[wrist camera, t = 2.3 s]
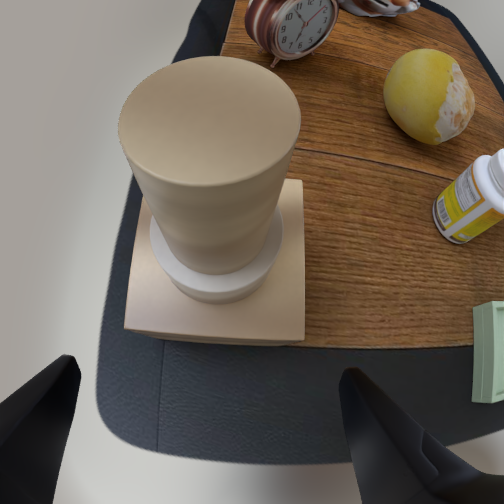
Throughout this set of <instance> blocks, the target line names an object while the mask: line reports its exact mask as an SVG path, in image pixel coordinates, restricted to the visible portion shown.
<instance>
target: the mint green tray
mask: <svg viewBox="0 0 504 504" xmlns="http://www.w3.org/2000/svg"><path fill="white" fill-rule="evenodd" d="M473 326H474V367H473V388H472V402H482V403H494V402H497V401H501V400H504V301H491V302H488V303H485V304H482V305H479V306H476V307H473Z"/></svg>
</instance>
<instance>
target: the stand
mask: <svg viewBox="0 0 504 504" xmlns="http://www.w3.org/2000/svg"><path fill="white" fill-rule="evenodd" d="M277 204H278V206H279V208H280V211H281V214H282V218H283V224H284V235H283V242H282V246H281V249H280V252H279V254H278V256H277V258H276V260H275V263H274V265H273V267H272V269H271V271H270V273H269V275H268V277H267V278H266V280H265V281H264V283H263V284H262V285H261V286H260V287H259V288H258V289H257V290H256V291H255V292H253V293H252V294H251V295H249V296H247V297H246V298H244V299H242V300H239V301H236V302H233V303H228V304H207V303H203V302H199V301H196V300H194V299H192V298H190V297H188V296H187V295H185V294H184V293H182V292H181V291H180V290H179V289H178V288H177V287H176V286H175V285H174V284H173V283H172V281H171V280H170V278H169V277H168V276H167V274H166V273H165V271H164V270H163V269H162V267H161V266H160V264H159V263H158V261H157V259H156V257H155V255H154V253H153V250H152V246H151V241H150V223H151V218H152V212H151V210H150V208H149V206H148V204H147V202H146V199H145V197H144V195H143V200H142V205H141V210H140V215H139V220H138V226H137V232H136V238H135V244H134V250H133V256H132V263H131V270H130V278H129V285H128V293H127V302H126V311H125V321H124V329H126V330H129V331H133V332H136V333H140V334H143V335H146V336H150V337H153V338H157V339H165V340H175V341H187V342H199V343H214V344H231V345H253V346H282V345H287V344H291V343H295V342H299V341H303V340H304V339H305V251H304V211H303V184H302V180H295V179H285V180H284V184H283V187H282V190H281V193H280V196H279V200H278V203H277Z"/></svg>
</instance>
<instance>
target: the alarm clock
mask: <svg viewBox="0 0 504 504" xmlns="http://www.w3.org/2000/svg"><path fill="white" fill-rule="evenodd" d="M338 13H339V3H338V0H250V2H249V4H248V7H247V9H246V14H245V28H246V31H247V33H248V35H249V36H250V38H251V39H252V40H254V41H255V42H256V43H257V44H258V45H259V46H260V47H261V48H260V50H259V51H258V53H259V54H260V53H261V51H263V50H266V51H267V52H269V53H271V54H273V55H275V59H274V61H273V64H271V65H270V67H271V68H274V67H275V64H276V63H277V62H278V61H279V60H280V59H284V60H293V59H298V58H301V57H303V56H305V55H307V54H309V53H310V52H311V53H310V54H311V55H314V54H315V53H314V52H313V50H315V49H316V48H317V47H318V46H319V45H320V44H321V43H322V42H323V41H324V40H325V39H326V38H327V37H328V35H329V34H330V32H331V31H332V29H333V27H334V25H335V23H336V21H337V17H338Z"/></svg>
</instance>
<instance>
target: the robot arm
mask: <svg viewBox="0 0 504 504" xmlns="http://www.w3.org/2000/svg"><path fill="white" fill-rule="evenodd" d="M80 381H81V371H80V369H79V366H78V364H77V362H76V359H75V357H74V356H71V355H62V356H60V357H59V358H58V359H56V360H55V361H54V362H52V363H51V364H50V365H48V366H47V367H46V368H45V369H44V370H42V371H41V372H39V373H38V374H37V375H36V376H34V377H33V378H32V379H30V380H29V381H28V382H27V383H25V384H24V385H23V386H22V387H20V388H19V389H18V390H16V391H15V392H14V393H13V394H11V395H10V396H9V397H8V398H6V399H5V400H4V401H3V402H1V403H0V504H53V499H54V494H55V489H56V484H57V479H58V475H59V470H60V466H61V462H62V458H63V454H64V450H65V446H66V442H67V438H68V435H69V431H70V428H71V424H72V421H73V417H74V413H75V408H76V402H77V397H78V392H79V386H80ZM339 394H340V401H341V409H342V416H343V424H344V429H345V434H346V438H347V442H348V446H349V450H350V454H351V458H352V462H353V466H354V470H355V474H356V478H357V482H358V486H359V491H360V495H361V500H362V504H504V475H492V474H486V473H483V472H481V471H479V470H477V469H475V468H474V467H472V466H471V465H469V464H468V463H467V462H465V461H464V460H462V459H461V458H460V457H458V456H457V455H455V454H454V453H453V452H451V451H450V450H448V449H447V448H446V447H445V446H443V445H442V444H441V443H440V442H439V441H437V440H436V439H435V438H434V437H433V436H432V435H431V434H429V433H428V432H427V431H426V430H424V428H423V427H422V426H421V425H420V424H418V423H417V422H416V421H415V420H414V419H413V418H412V417H411V416H410V415H409V414H408V413H407V412H405V411H404V410H403V409H402V408H401V407H400V406H399V405H398V404H397V403H396V402H395V401H394V400H393V399H391V398H390V397H389V396H388V395H387V394H386V393H385V392H384V391H383V390H382V389H381V388H380V387H379V386H377V385H376V384H375V383H374V382H373V381H372V380H371V379H370V378H369V377H368V376H367V375H366V374H365V373H364V372H362V371H361V370H360V369H359V368H358V367H347V368H345V370H344V372H343V375H342V377H341V380H340V383H339Z"/></svg>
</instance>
